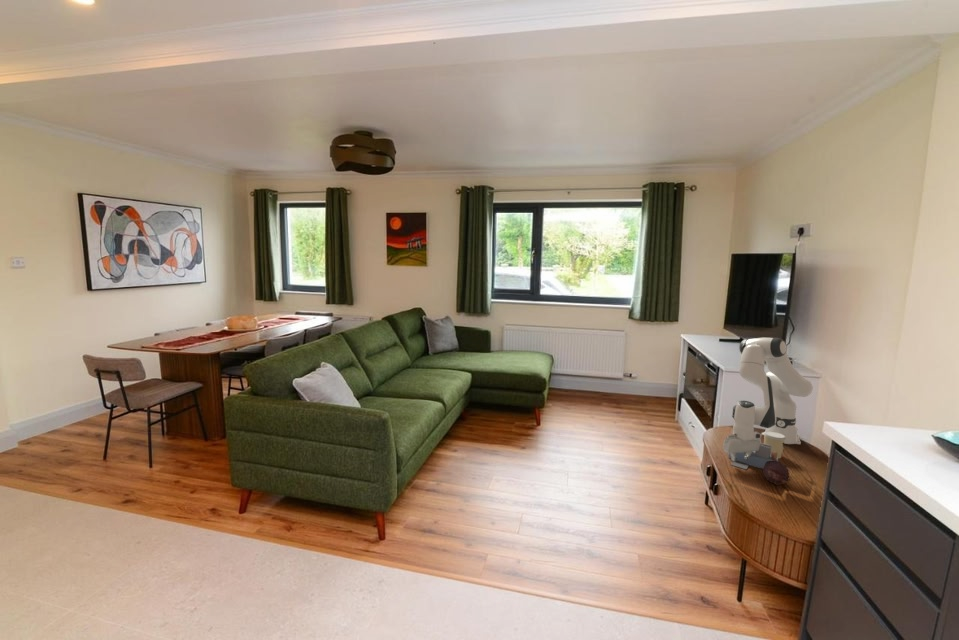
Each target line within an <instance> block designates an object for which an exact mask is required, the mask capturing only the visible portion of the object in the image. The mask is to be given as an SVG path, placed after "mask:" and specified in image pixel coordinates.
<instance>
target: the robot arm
mask: <svg viewBox="0 0 959 640" xmlns="http://www.w3.org/2000/svg"><path fill="white" fill-rule="evenodd" d="M739 353H740V354H741V355H740V360H739V368H738V369H739V374H740V376H741V378H743V380H744V381H746V382H749V383H750V384H752V385H754V386H757V388H760V389H761V391H762V393H763V400H764V401H763V403H764V406H758V405H755V404H754V402H751V401H749V400H738V401H737V403H736V404H735V405H734V406H733V407H732V415H731V417H732V419H733V421H734V422H733V427H732V434H727V435H726V436H725V438H724V440H723V444H722V450H723V452H724V453H726V454H728V455H729V454H730V455H731V456H732V457H731V459H730V460H731V461H732V462H733V461H736V459H737V458H736V457H735V454H736V453H740V452H747V453H746V455H744V459H746V460H748V459H749V456H750V455H751V454H752V451H758V450H759V447H760V445H761V443H762V439H761V438H762V436H764V433H765V432H776V433H780V434H782V435H784V436H785V442H784V445H802V444H801V443H802V442H801V440H800V439H801V438H800V437H799V435H798V428H797V427H796V423H797V418H796V414H797V404H796V402H795V401H794V400H793V399H792V398H791V396H794V397H800V398H801V397H802V398H805V397H808V396H809V395H810V394H811V393H812V391H813V387H814V386H813V384H812V382H811V381H810V380H808V379H806V378H805V376H803V375H802V374H801V373H800V372H799V371H798V370H797V369H796V368H795V367H794V365H793V364H792V362H791V360H790V357H789V356H788V353H787V343H786V341H785V340H784V339H782V338H779V337H757V338H755V337H753V338H744V339H743V340H742V341H740V343H739ZM765 364H766V366H767V369H768V372H766V371H765ZM755 426H757V427H758V426H760V427H761V428H765V431H764V432H761V433H759V432H758V431H755V428H754V427H755ZM736 462H737V461H736Z"/></svg>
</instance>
